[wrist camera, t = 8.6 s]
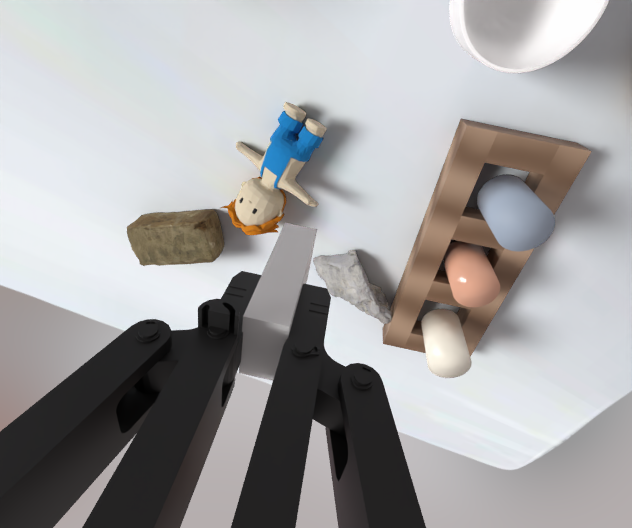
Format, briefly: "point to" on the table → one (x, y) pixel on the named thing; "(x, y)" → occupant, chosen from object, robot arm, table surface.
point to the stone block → (176, 237)
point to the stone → (352, 284)
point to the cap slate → (515, 213)
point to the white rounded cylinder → (445, 344)
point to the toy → (276, 173)
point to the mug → (522, 30)
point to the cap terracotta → (470, 274)
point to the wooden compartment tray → (475, 223)
